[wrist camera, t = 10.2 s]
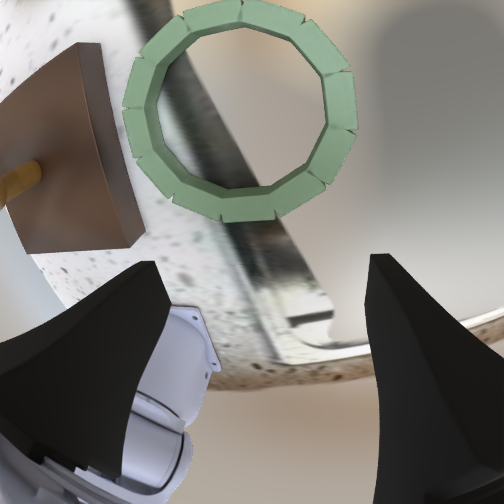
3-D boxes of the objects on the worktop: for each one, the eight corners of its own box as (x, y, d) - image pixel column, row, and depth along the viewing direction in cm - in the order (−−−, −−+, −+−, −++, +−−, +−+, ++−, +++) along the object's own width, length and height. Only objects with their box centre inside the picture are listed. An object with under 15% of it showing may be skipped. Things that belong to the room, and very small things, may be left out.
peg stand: (146, 231, 20) (84, 301, 14) (41, 241, 24) (-8, 288, 17) (100, 43, 13) (6, 46, 6) (1, 114, 16) (-62, 141, 9)
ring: (355, 205, 17) (360, 216, 15) (163, 218, 20) (153, 228, 18) (334, -3, 10) (337, -12, 8) (123, 42, 13) (108, 41, 11)
